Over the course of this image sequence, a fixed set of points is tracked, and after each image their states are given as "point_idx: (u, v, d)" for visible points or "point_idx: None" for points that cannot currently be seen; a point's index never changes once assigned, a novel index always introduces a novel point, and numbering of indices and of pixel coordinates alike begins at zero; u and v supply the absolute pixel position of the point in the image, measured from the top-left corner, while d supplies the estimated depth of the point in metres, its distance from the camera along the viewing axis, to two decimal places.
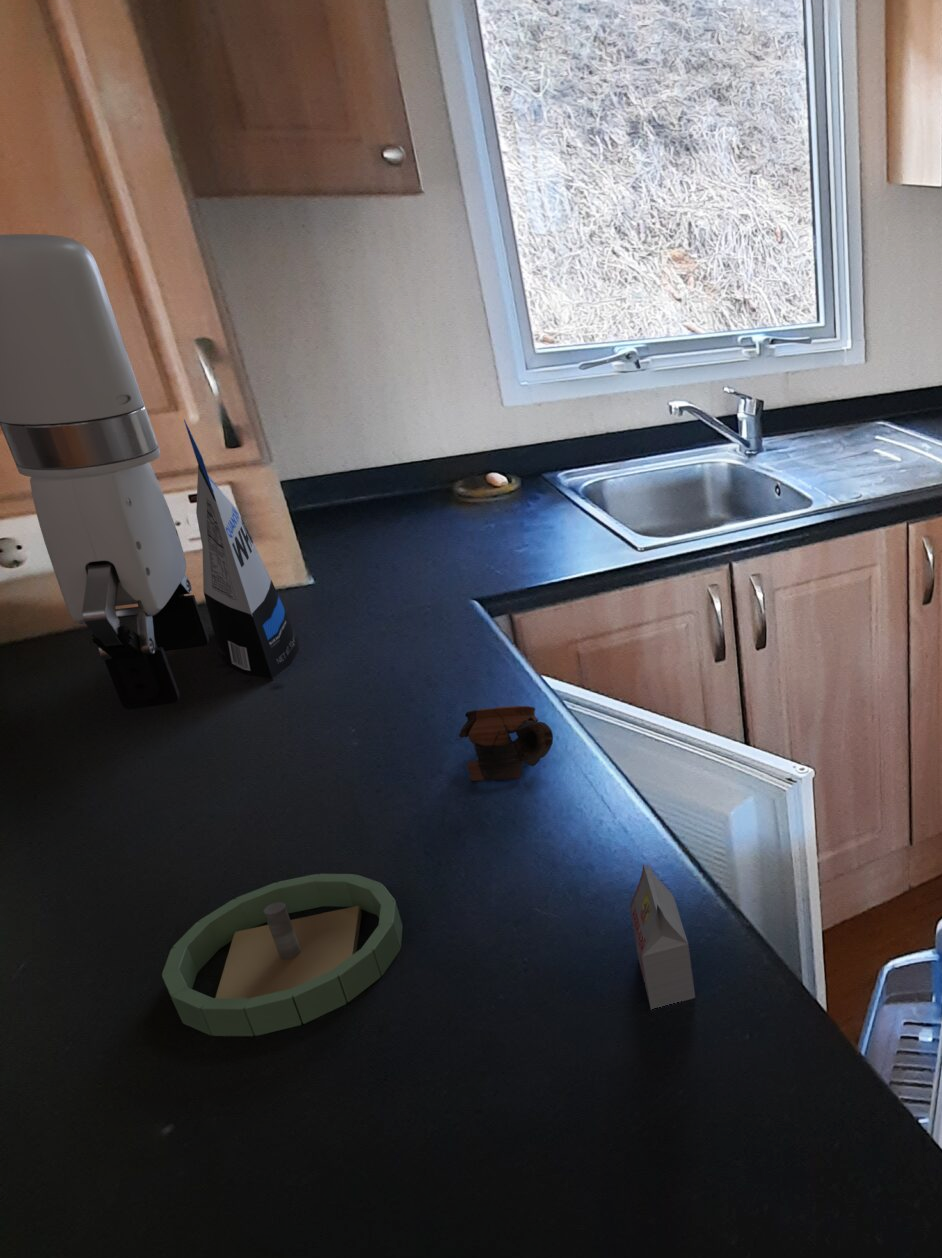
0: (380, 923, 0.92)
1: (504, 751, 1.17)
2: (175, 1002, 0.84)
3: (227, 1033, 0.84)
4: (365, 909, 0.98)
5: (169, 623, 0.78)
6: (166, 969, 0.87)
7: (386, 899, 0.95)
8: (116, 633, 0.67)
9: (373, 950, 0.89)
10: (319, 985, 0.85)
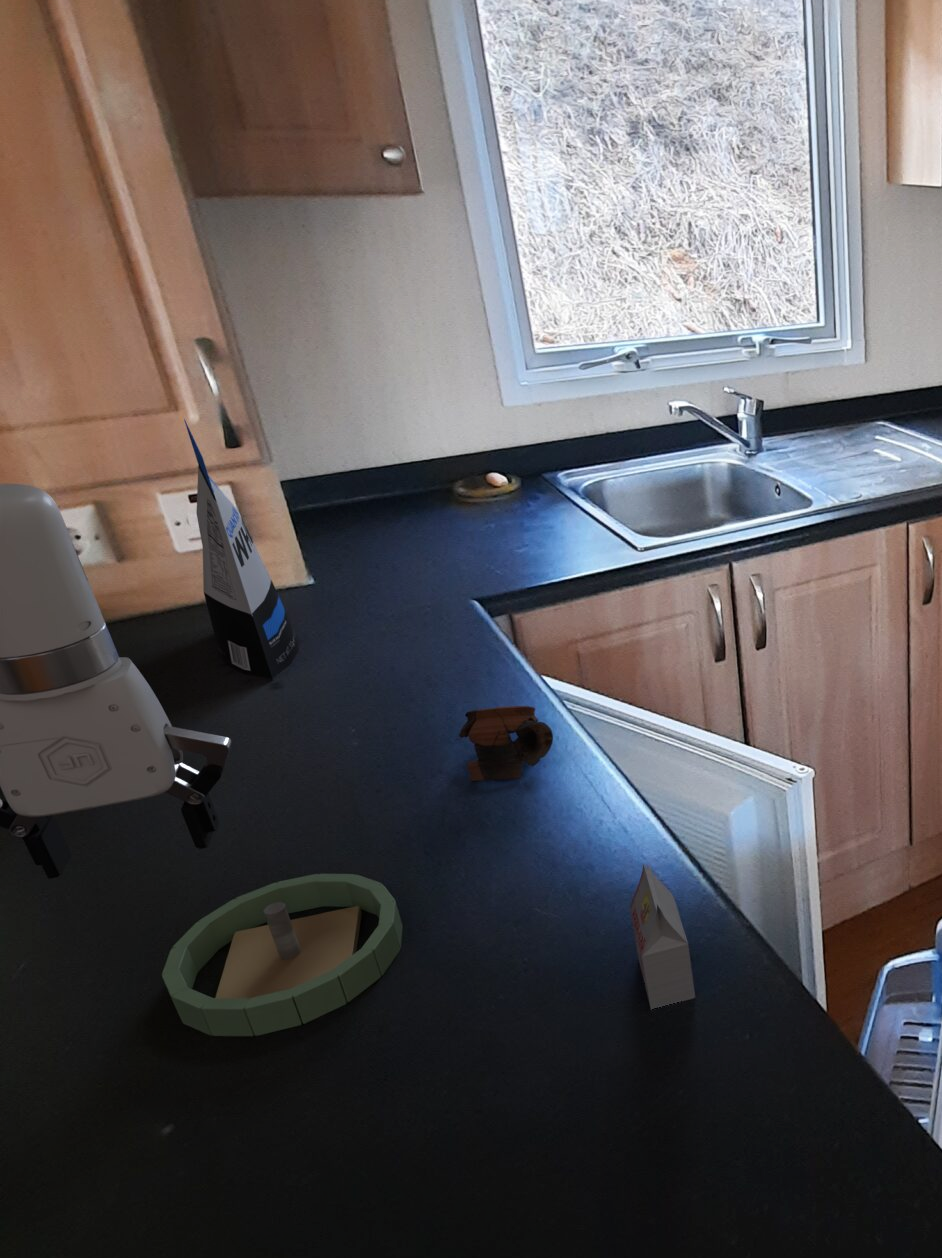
0: (380, 923, 0.92)
1: (504, 751, 1.17)
2: (175, 1002, 0.84)
3: (227, 1033, 0.84)
4: (365, 909, 0.98)
5: (54, 845, 0.80)
6: (166, 969, 0.87)
7: (386, 899, 0.95)
8: (227, 757, 0.83)
9: (373, 950, 0.89)
10: (319, 985, 0.85)
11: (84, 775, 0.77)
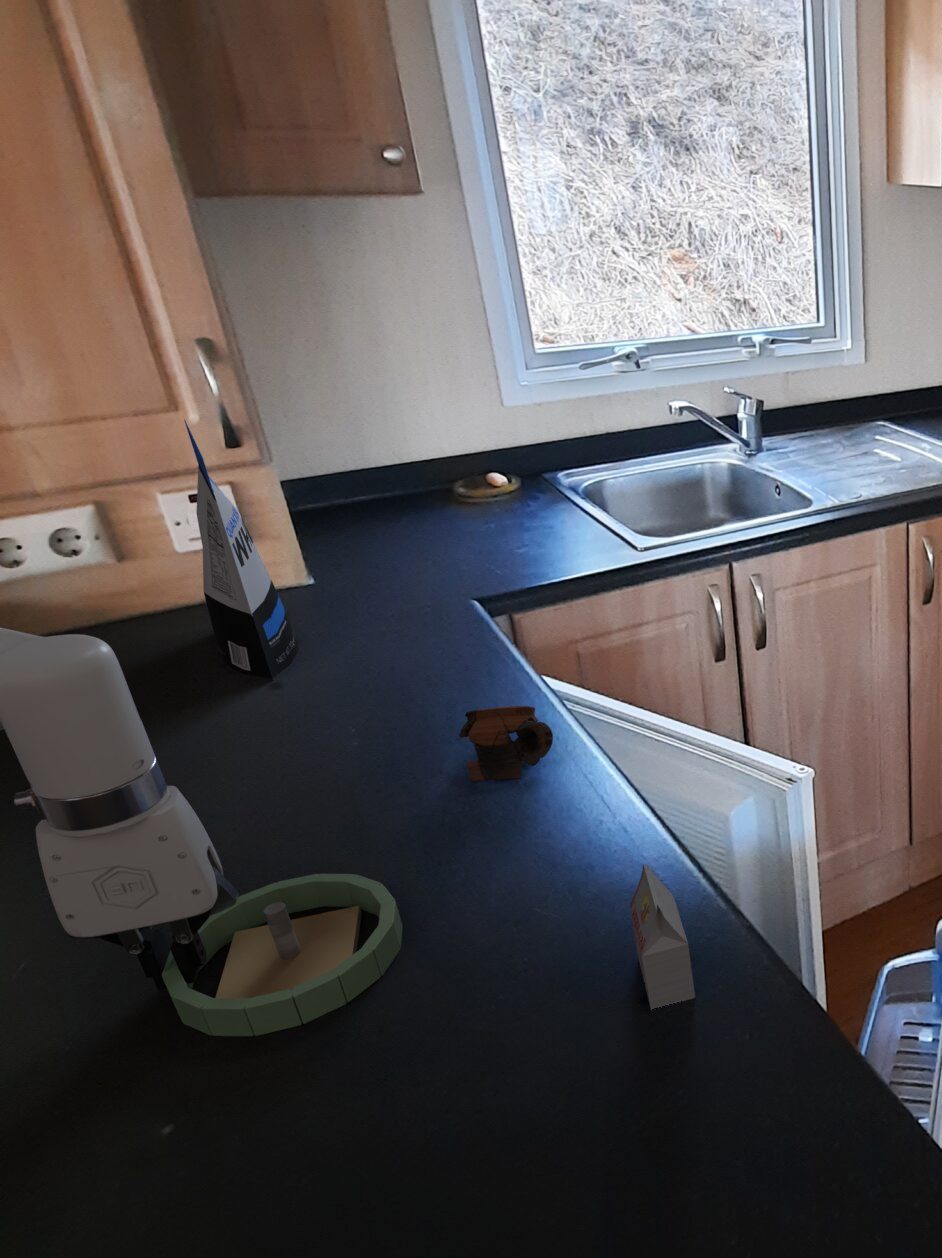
0: (380, 923, 0.92)
1: (504, 751, 1.17)
2: (175, 1002, 0.84)
3: (227, 1033, 0.84)
4: (365, 909, 0.98)
5: (164, 959, 0.87)
6: (166, 969, 0.87)
7: (386, 899, 0.95)
8: None
9: (373, 950, 0.89)
10: (319, 985, 0.85)
11: (133, 899, 0.82)
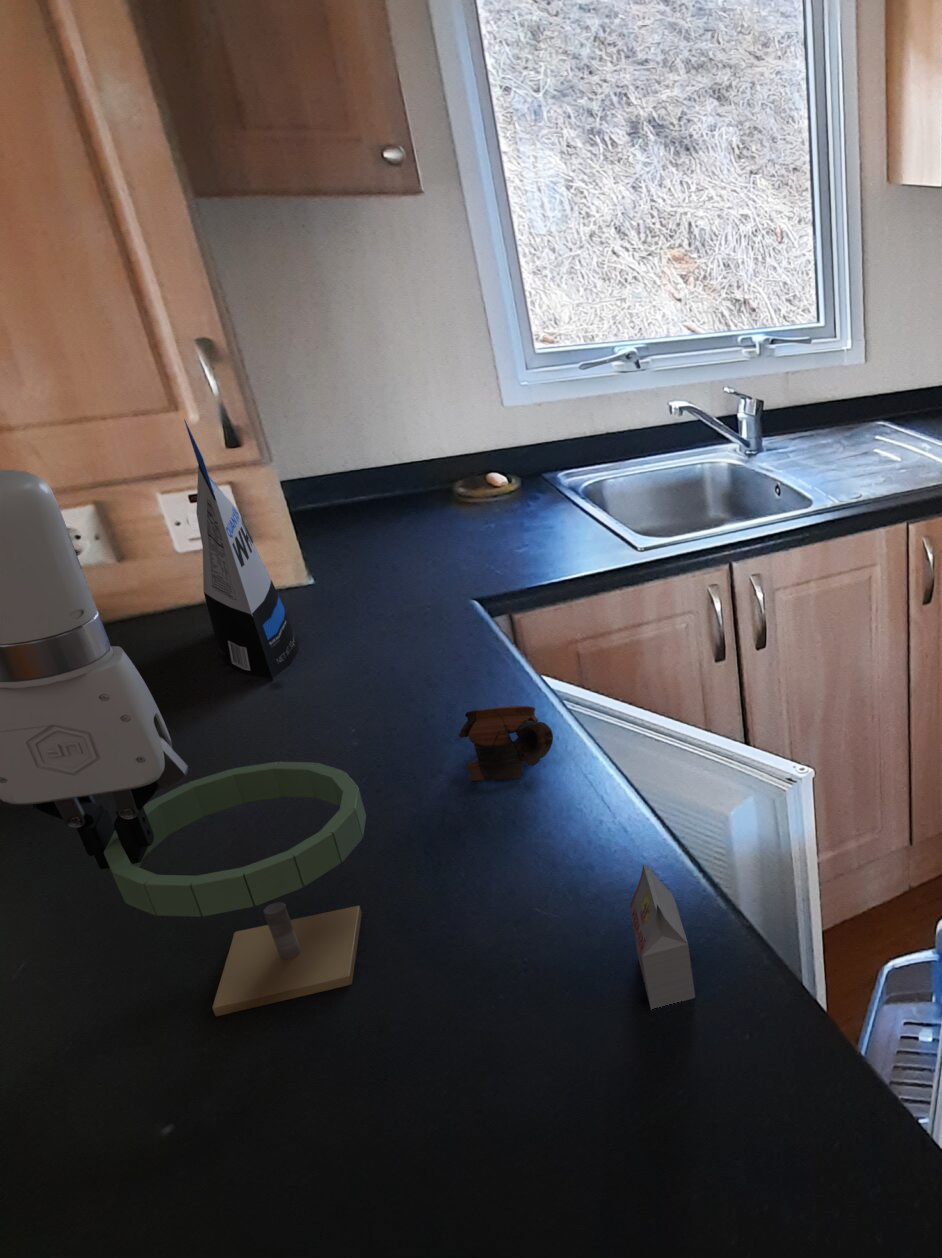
0: (341, 808, 0.87)
1: (504, 751, 1.17)
2: (117, 879, 0.79)
3: (172, 913, 0.79)
4: (327, 799, 0.92)
5: (107, 836, 0.82)
6: (109, 847, 0.81)
7: (349, 785, 0.90)
8: None
9: (332, 833, 0.84)
10: (273, 864, 0.80)
11: (72, 764, 0.76)
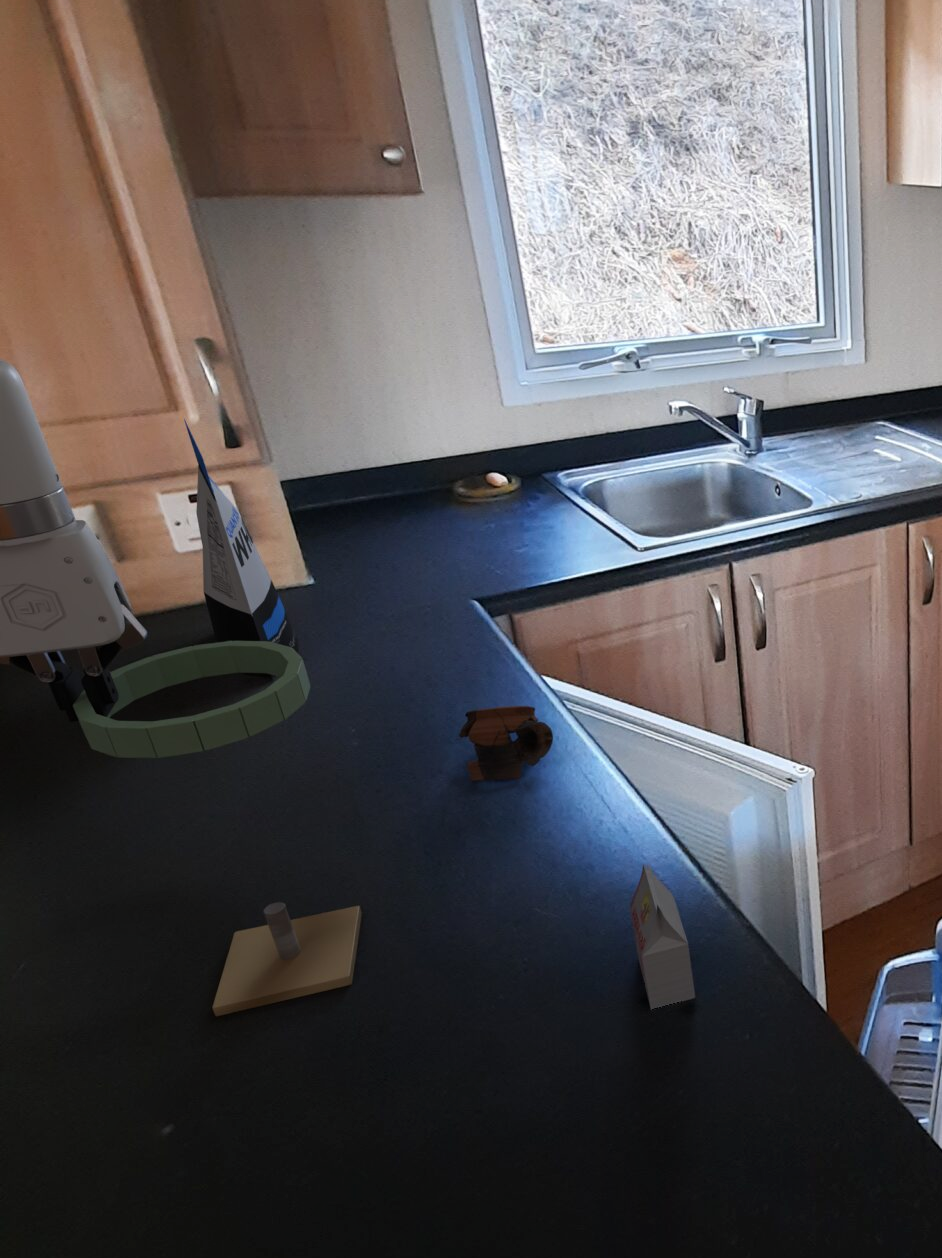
0: (285, 674, 0.97)
1: (504, 751, 1.17)
2: (83, 725, 0.89)
3: (131, 754, 0.89)
4: (277, 674, 1.03)
5: (76, 693, 0.92)
6: (77, 701, 0.92)
7: (294, 658, 1.00)
8: None
9: (275, 692, 0.94)
10: (220, 713, 0.90)
11: (42, 620, 0.87)
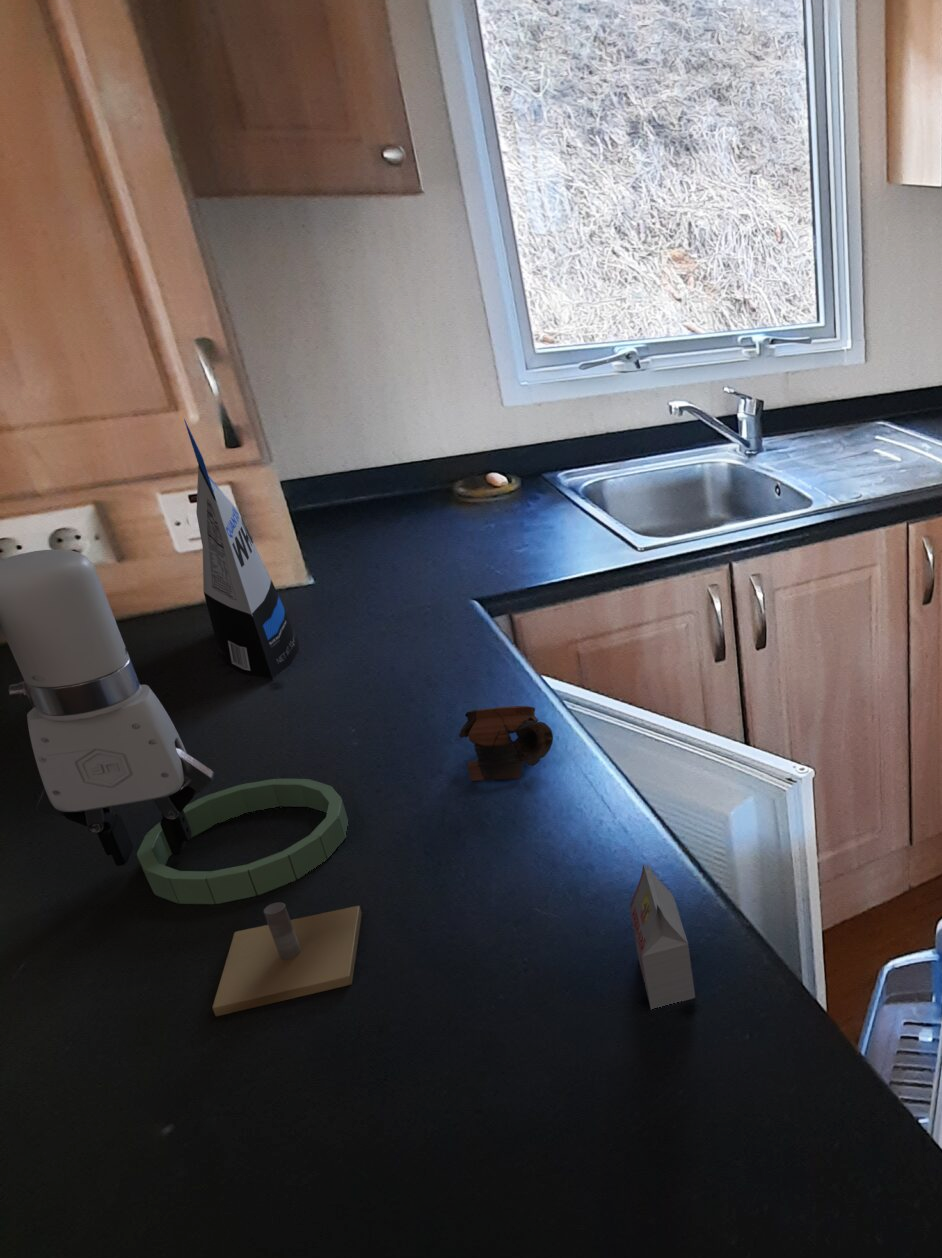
0: (327, 816, 1.06)
1: (504, 751, 1.17)
2: (147, 875, 0.99)
3: (192, 901, 0.98)
4: None
5: (121, 839, 1.01)
6: (140, 849, 1.01)
7: (334, 797, 1.09)
8: None
9: (319, 836, 1.04)
10: (271, 862, 1.00)
11: (111, 779, 0.96)
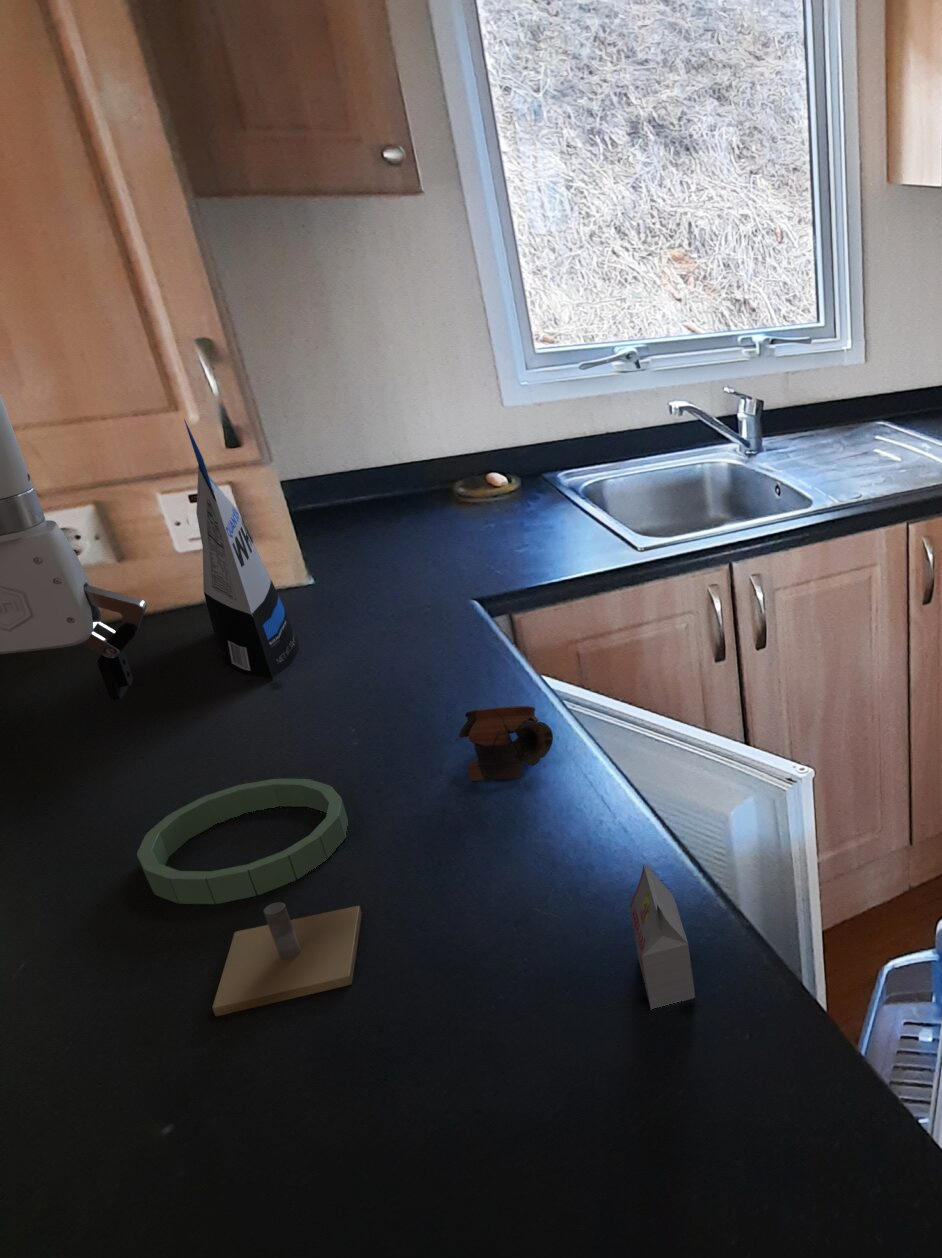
0: (327, 816, 1.06)
1: (504, 751, 1.17)
2: (147, 875, 0.99)
3: (192, 901, 0.98)
4: None
5: None
6: (140, 849, 1.01)
7: (334, 797, 1.09)
8: None
9: (319, 836, 1.04)
10: (271, 862, 1.00)
11: (9, 621, 0.86)
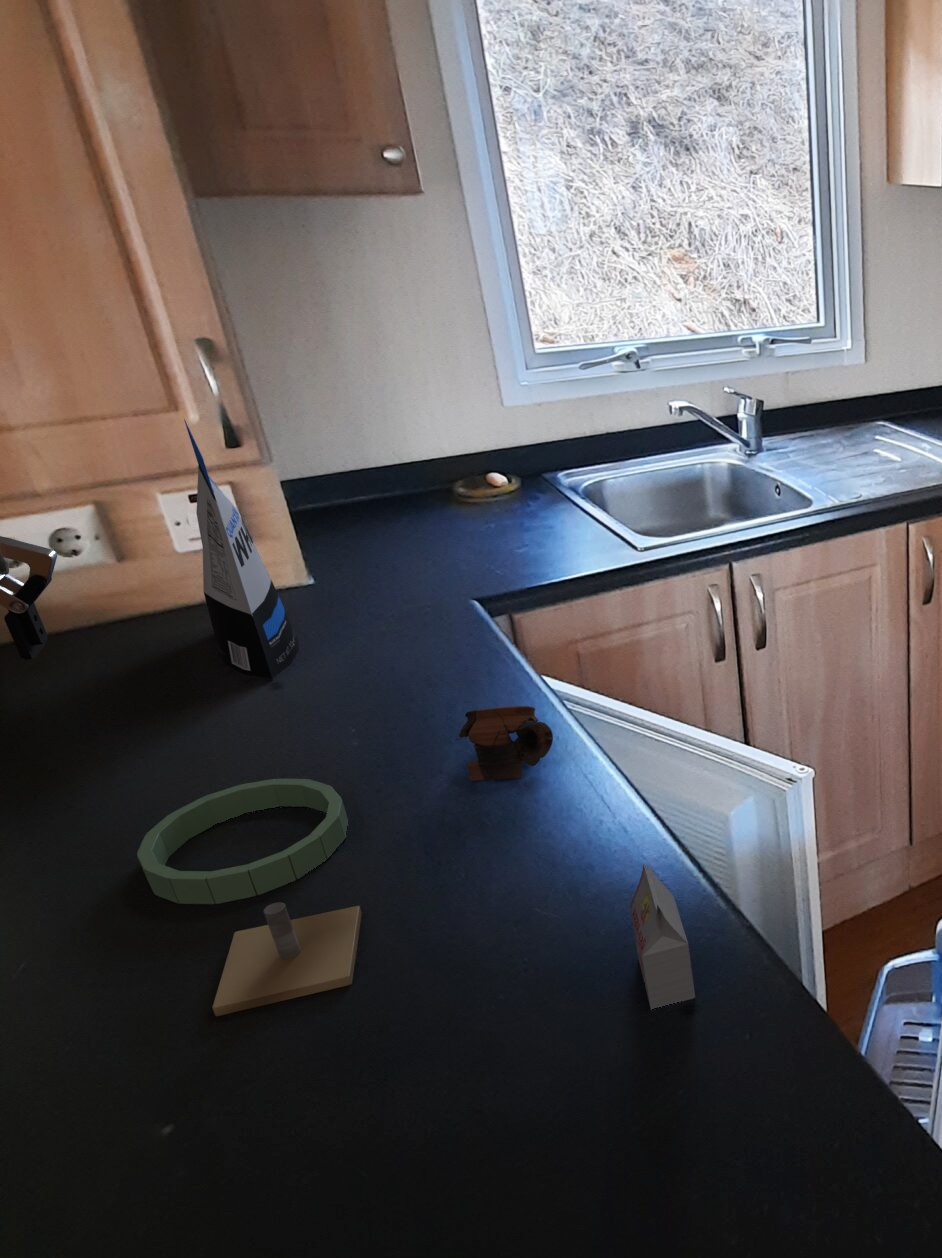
0: (327, 816, 1.06)
1: (504, 751, 1.17)
2: (147, 875, 0.99)
3: (192, 901, 0.98)
4: None
5: None
6: (140, 849, 1.01)
7: (334, 797, 1.09)
8: None
9: (319, 836, 1.04)
10: (271, 862, 1.00)
11: None
